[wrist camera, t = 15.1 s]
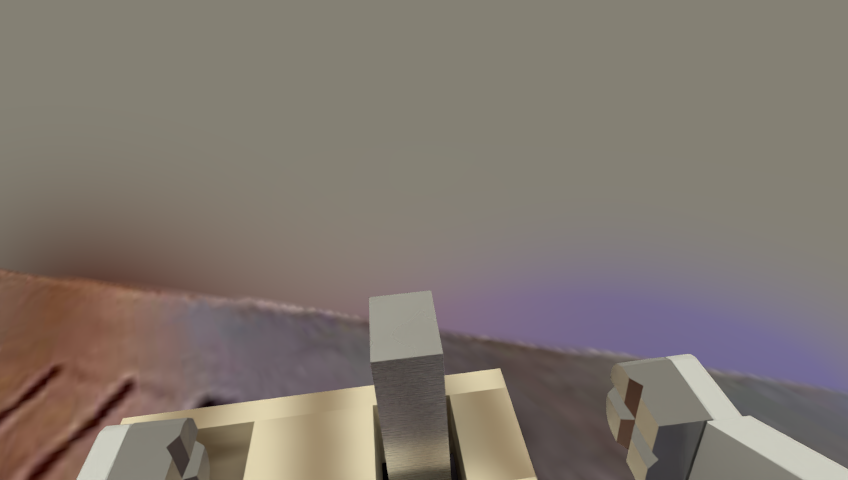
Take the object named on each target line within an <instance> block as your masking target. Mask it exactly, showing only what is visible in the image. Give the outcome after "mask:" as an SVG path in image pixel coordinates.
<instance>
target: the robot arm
mask: <svg viewBox="0 0 848 480" xmlns="http://www.w3.org/2000/svg"><path fill="white" fill-rule="evenodd" d="M610 378H611V380H612V382H613V384H614V386H615V387H614V388H613V389H612V390H611V391H610V392H609V393H608V394H607V401H606V412H607V419H608V423H609V426H610V429H611V431H612V433H613V435H614V437H615V440H616V442H618V443H619V444H621V445H622V446H624V447H625V448H627V449H628V450H629V451H628V456H627V463H628V465H629V467H630V469H631V471H632V473H633V475H634V477H635V479H636V480H848V469H847V468H845V467H843V466H841V465H839V464H837V463H836V462H834V461H832V460H830V459H828V458H826V457H825V456H823V455H821V454H819V453H817V452H815V451H814V450H812V449H810V448H808V447H806V446H804V445H803V444H801V443H799V442H797V441H795V440H793V439H792V438H790V437H788V436H786V435H784V434H782V433H781V432H779V431H777V430H775V429H773V428H771V427H770V426H768V425H766V424H764V423H762V422H760V421H759V420H757V419H755V418H753V417H751V416H743V417H742V415H741V414H740V413H739V412H738V410H737V409H736V408H735V407H734V405H733V404H732V403H731V402H730V400H729V399H728V398H727V397H726V395H725V394H724V393H723V392H722V390H721V389H720V388H719V386H718V385H717V384H716V383H715V381H714V380H713V379H712V378H711V376H710V375H709V374H708V373H707V371H706V370H705V369H704V368H703V366H702V365H701V364H700V363H699V361H698V360H697V359H696V358H695V357H694V356H692V355H691V354H684V355H677V356H669V357H664V358H662V357H660V358H653V359H645V360H638V361H631V362H623V363H616V364H615V365H614V367H613V368H612V371H611V377H610ZM197 433H198V428H197V426H196V424H195V421H194V419H193V418H179V419H169V420H159V421H149V422H139V423H133V424H123V425H114V426H106V427H105V428H104V429H103V430H102V431H101V432H100V433H99V434H98V436H97V438H96V440H95V442H94V444H93V446H92V448H91V450H90V452H89V454H88V456H87V458H86V461H85V463H84V465H83V467H82V469H81V471H80V473H79V475H78V477H77V479H76V480H209V474H210V464H209V458H208V454H207V451H206V448H205V446H204V445H202V444H200V443H199V442H197V441H196V437H197Z"/></svg>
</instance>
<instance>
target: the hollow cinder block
mask: <svg viewBox="0 0 848 480" xmlns="http://www.w3.org/2000/svg"><path fill="white" fill-rule="evenodd" d="M444 378H445V393H446V408H447V423H448V439H449V453H453V455H454V460H455V466H456V471H457V476H458V480H537V478H536V475H535V472H534V469H533V466H532V463H531V460H530V457H529V454H528V451H527V448H526V445H525V442H524V439H523V436H522V433H521V430H520V427H519V424H518V421H517V418H516V415H515V412H514V409H513V406H512V403H511V400H510V397H509V394H508V391H507V388H506V385H505V382H504V379H503V376H502V373H501V370H500V368H499V369H492V370H484V371H477V372H469V373H462V374H454V375H447V376H444ZM179 418H193V419H194V421H195V424H196V426H197V428H198V433H197V437H196V441H197V442H199V443H200V444H202V445H204V446H205V448H206V451H207V454H208V458H209V464H210V474H209V480H383V471H382V463H386V458H385V452H384V445H383V439H382V433H381V426H380V420H379V413H378V407H377V401H376V394H375V388H374V385H371V386H364V387H356V388H349V389H341V390H334V391H326V392H318V393H311V394H303V395H296V396H288V397H281V398H273V399H266V400H258V401H251V402H243V403H236V404H228V405H221V406H213V407H205V408H198V409H190V410H183V411H175V412H168V413H160V414H153V415H145V416H138V417H130V418H123V420H122V422H121V424H120V425H123V424H133V423H139V422H149V421H159V420H169V419H179Z"/></svg>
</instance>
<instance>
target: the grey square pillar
mask: <svg viewBox="0 0 848 480" xmlns="http://www.w3.org/2000/svg"><path fill="white" fill-rule="evenodd" d="M369 313H370V314H369V316H370V363H371V369H372V375H373V382H374V388H375V394H376V401H377V407H378V413H379V420H380V426H381V433H382V439H383V445H384V452H385V458H386V464H387V471H388V477H389V480H451V469H450V454H449V439H448V423H447V408H446V393H445V378H444V363H443V351H442V346H441V341H440V336H439V330H438V325H437V320H436V315H435V309H434V304H433V299H432V293H431V291H421V292H413V293H404V294H395V295H387V296H377V297H370V298H369Z"/></svg>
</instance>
